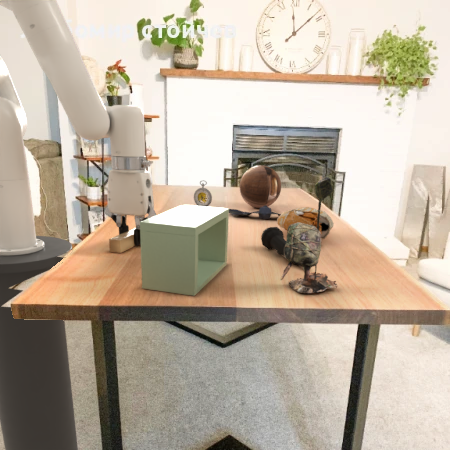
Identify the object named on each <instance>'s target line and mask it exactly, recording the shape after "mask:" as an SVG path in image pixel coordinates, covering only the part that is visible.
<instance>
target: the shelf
mask: <svg viewBox="0 0 450 450" xmlns="http://www.w3.org/2000/svg"><path fill="white" fill-rule="evenodd" d="M229 209H230V208H227V207H218V206H217V207H216V206H198V205H197V204H196V205H194V204H183V203H182V204H180V205H178V206H176V207H173V208H171V209H168V210H166V211H163V212H161V213H159V214H156V216H153V217H151V218H148V219H146V220H143V221H141V222H140V240H141V244H140V267H141V270H140V271H141V289H143V290H151V291H158V292H164V293H171V294H178V295H185V296H192V297H196V295H197V294H199V292H200V291H201V290H202V289H203V288H204V287H205V286H207V284H208V283H209V282H211V281H212V280H213V279H214V278H215V277H216V276H217V275H218V274H219V273H220V272H221V271H222V270H223V269H224V268H225V267H226V266H227V265H228V241H229V239H228V238H229V219H230V218H229V214H230V213H229Z"/></svg>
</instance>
